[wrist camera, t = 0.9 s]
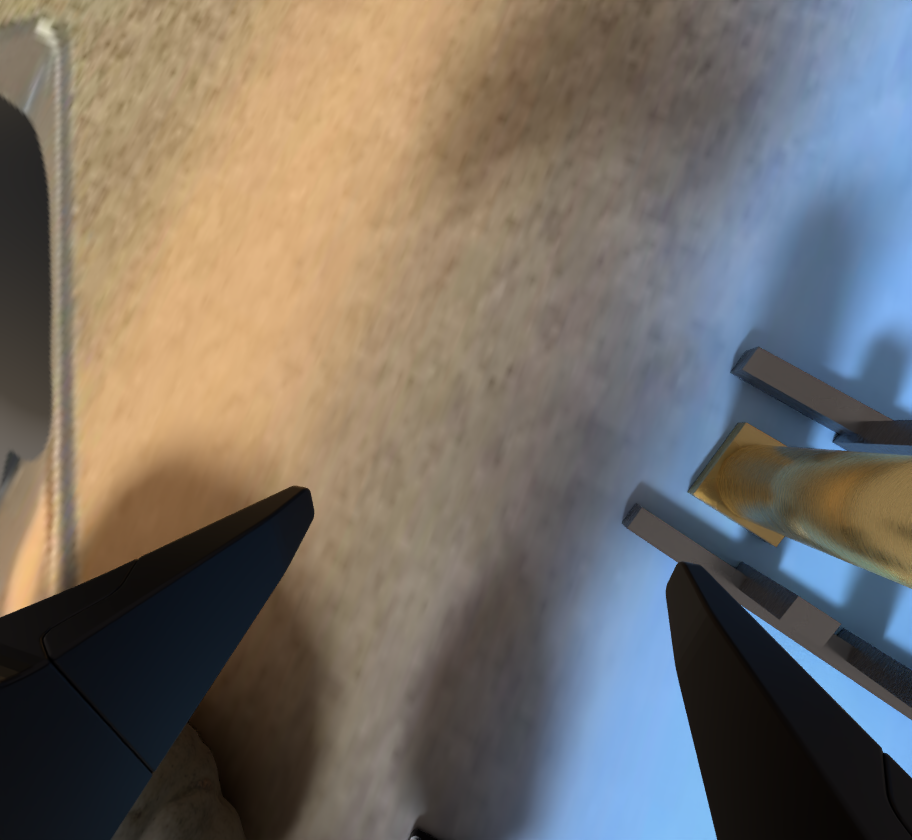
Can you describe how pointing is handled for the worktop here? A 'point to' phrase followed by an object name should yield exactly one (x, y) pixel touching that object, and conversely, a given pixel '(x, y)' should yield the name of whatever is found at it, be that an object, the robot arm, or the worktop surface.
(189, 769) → the gourd
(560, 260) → the worktop surface
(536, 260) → the worktop surface
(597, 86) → the worktop surface
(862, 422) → the frame
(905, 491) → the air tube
